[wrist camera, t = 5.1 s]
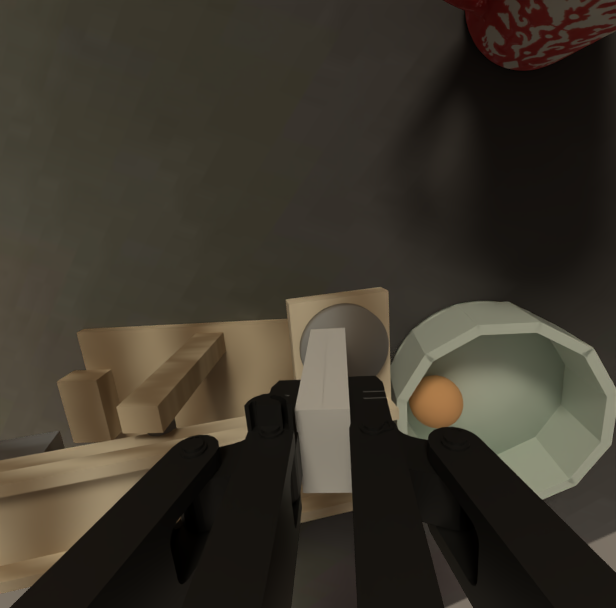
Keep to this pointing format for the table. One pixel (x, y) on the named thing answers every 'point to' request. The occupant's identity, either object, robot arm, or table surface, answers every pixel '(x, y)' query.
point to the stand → (171, 375)
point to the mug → (535, 28)
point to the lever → (159, 448)
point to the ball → (436, 402)
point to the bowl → (513, 389)
